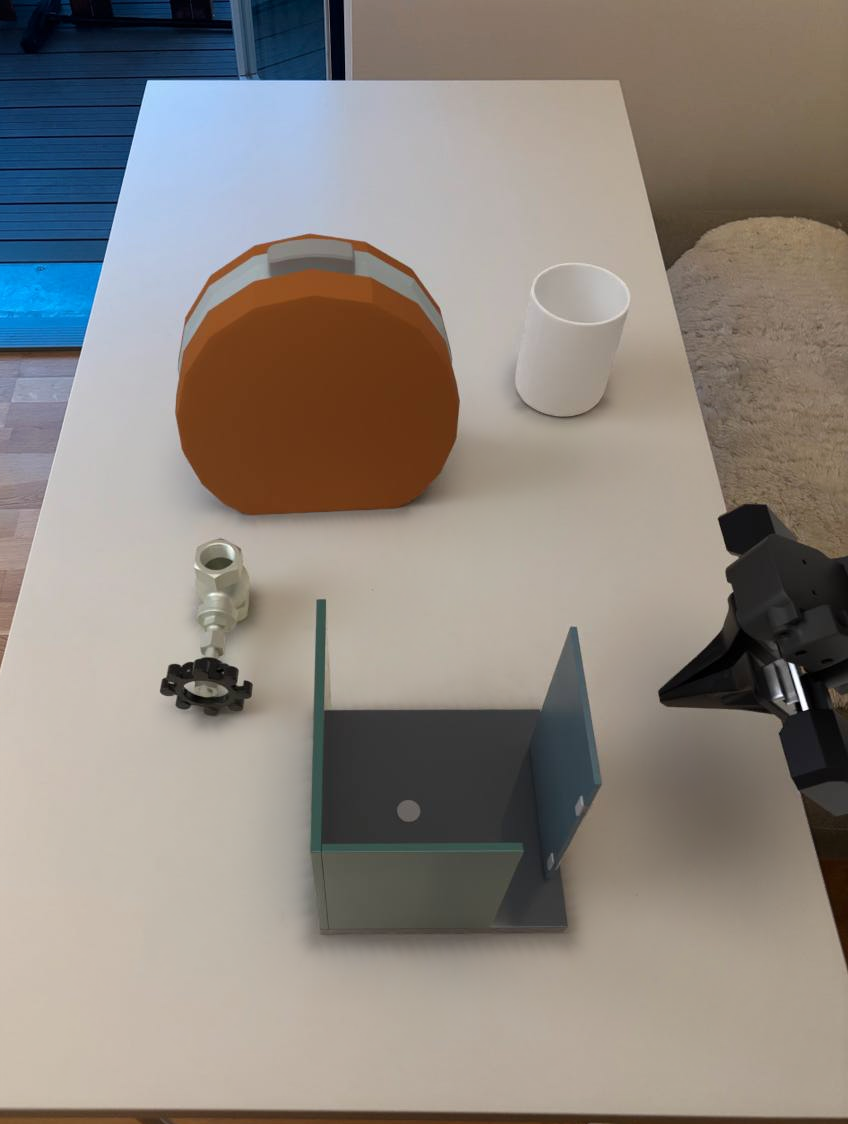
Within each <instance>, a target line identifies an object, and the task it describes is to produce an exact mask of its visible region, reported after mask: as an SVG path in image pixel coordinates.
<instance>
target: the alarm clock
mask: <svg viewBox="0 0 848 1124" xmlns="http://www.w3.org/2000/svg"><path fill="white" fill-rule="evenodd" d="M177 359H178V360H177V374H178V381H177V388H176V393H175V409H174V415H175V420H176V425H177V430H178V431H177V432H178V437H179V443H180V447H181V450H182V453H183V455H184V457H185V458H186V460H187V462H188V463H189V466H190V467H191V468H192V470H193V471H194V472H193V473H195V475H196V477H197V479H198V480H199V482H200V483H201V485H202V486H203V487H204V488H205V489H207V490H208V491H209V492H210V493H211V494H212V495H213V496H214V497H216V498H217V500H219V502H221V503H222V504H224V505H226V507H229V508H232V509H233V510H235V511H237V512H239V513H241V514H244V515H249V516H257V515H258V516H259V515H278V514H280V515H282V514H299V513H300V514H301V513H320V512H321V513H323V512H342V511H343V512H344V511H363V510H364V511H365V510H385V509H387V510H388V509H399V508H401V507H404V506H405V505H407V504H409V503H410V502H412V501H413V500H415V499H416V498H418V497H419V496H421V495H422V494H424V492H425V491H426V490H427V489H428V488H429V486H431V484H433V482H434V481H435V480H436V479H437V478H438V477H439V476H440V475H441V473H442V471H443V469H444V467H445V465H446V463H447V461H448V458H449V457H450V455H451V452H452V450H453V448H454V446H455V444H456V440H457V438H458V428H459V427H458V426H459V415H460V405H461V398H460V394H459V387H458V383H457V379H456V375H455V372H454V371H455V370H454V367H453V354H452V350H451V345H450V341H449V338H448V333H447V329H446V326H445V322H444V318H443V314H442V310H441V308H440V306H439V305H438V303H437V301H436V300H435V299H434V297H433V296H432V295H431V293H430V292H429V291H428V289H427V288H426V286H425V285H424V284H423V282H422V281H421V279H420V278H419V277H418V275H417V273H415V271H414V270H413V269H412V268H411V267H410V266H409V265H407V264H405V263H404V262H402V261H399V260H398V259H396V258H395V257H393V256H391V255H389V254H387V253H386V252H384V251H382V250H381V249H379V248H377V247H375V245H372V244H370V243H368V242H367V241H364V240H356V239H350V238H343V237H336V236H331V235H322V234H316V233H305V234H301V235H295V236H291V237H288V238H287V237H286V238H282V239H278V240H273V241H269V242H264V243H259V244H255V245H253V246H251V247H250V248H248V249H247V250H246V251H244V252H242V253H241V254H240V255H238V256H236V257H235V258H234V259H232V260H231V261H229V262H228V263H226V264H225V265H223V266H222V267H220V268H219V269H218V270H216V271H215V272H213V273H212V274H210V276H208V278H207V280H206V282H205V283H204V285H203V287H202V289H201V290H200V292H199V294H198V295H197V296H196V298H195V300H194V302H193V304H192V305H191V307H190V308H189V311H188V312H187V314H186V315H185V317H184V323H183V330H182V334H181V341H180V347H179V354H178V358H177Z"/></svg>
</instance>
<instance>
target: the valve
mask: <svg viewBox="0 0 848 1124" xmlns="http://www.w3.org/2000/svg"><path fill="white" fill-rule="evenodd" d="M243 557H244V556H243V551H242V548H240V547H239V546H238V545H237V544H234V543H233V542H231V541H229V540H227V539H224V538H221V537H219V538H216V539H213V540H209V541H207V542H205V543H202V544H200V545H198V546H197V547H196V551H195V555H194V563H193V570H194V574H195V579H194V580H195V581H194V585H195V590H196V594H197V596H198V598H199V600H201V602H202V603H201V604H199V605H200V606H199V607H198V612H197V618H196V622H197V624H198V625H199V626H200V627H201V628H203V630H204V631H205V632H202V635H201V640H200V645H199V648H200V653H201V655H203V657H201V658H196V659H194V661H187V662H185V663H183V664H179V663H170V664H168V666H167V670H166V676H165V677H163V678H162V679H161V680H160V682H161V683H160V687H159V694H161V695H162V696H164V697H174V696H176V699H175V707H176V708H177V709H179V710H181V711H182V710H183V711H187V710H189V709H190V708H191V707H192V706H195V707H201V708H203V709H202V712H203V714H204V715H206V716H209V717H211V716H212V717H215V716H217V715H219V710H220V708H223V707H226V708H227V709H228V710H229V711H231V712H234V713H235V712H236V713H239V712H242V711H243V710H244V708H245V707H244V705H245V700H249V699H251V698H252V696H253V688H254V684H253V682H252V681H249V680H243V683H242V685H238V680H239V675H240V670H239V668H238V667H237V666H233V665H229V664H228V663H225V662H222V661H221V660H220V659H219V658H220V657H223V656H225V651H226V646H227V638H226V634H228V632H231V631H233V630H235V628H236V627H237V623H239V622H241V621H243V620H245V619H246V618H248V613H249V607H250V594H249V593H250V589H251V578H250V575H249V572H248V570H247V569H246V566H245V565H244V558H243ZM193 682H194V686H193V687H194V692H195V693H193V692H191V691H190V690H188V689H187V688H186V687H185V685H187V684H189V683H193ZM220 686H221V687H222V688H224V689H226V690H227V693H226V694H223V695H220V696H217V695H219V688H220Z"/></svg>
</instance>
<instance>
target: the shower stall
mask: <svg viewBox="0 0 848 1124" xmlns="http://www.w3.org/2000/svg"><path fill="white" fill-rule="evenodd" d="M327 604H328V603H327V599H326V598H317V599H316V601H315V605H316V606H315V637H314V639H315V640H314V641H315V642H314V675H313V676H314V679H313V680H314V681H313V683H314V684H313V716H312V717H313V722H312V757H311V792H310V794H311V797H310V799H311V800H310V832H309V833H310V834H309V835H310V836H309V841H310V842H309V857H310V862H311V871H312V879H313V881H312V882H313V889H314V896H315V904H316V912H317V921H318V928H319V934H320V935H375V934H376V935H377V934H378V935H380V934H381V935H382V934H385V935H386V934H387V935H388V934H389V935H390V934H391V935H392V934H393V935H395V934H396V935H397V934H398V935H399V934H401V935H402V934H410V935H411V934H529V933H530V934H535V933H538V934H539V933H541V934H543V933H545V934H546V933H547V934H548V933H549V934H551V933H555V934H556V933H565V932H566V931H567V929H568V927H569V925H568V917H567V910H566V902H565V893H564V886H563V878H562V871H561V870H562V869H561V864H560V865H559V867H558V869H557V870H555V872H554V873H553V875H552V877H551V878H545V872H544V864H543V855H542V847H541V838H540V830H539V821H538V813H537V804H536V796H535V787H534V779H533V770H532V762H531V753H530V745H529V743H530V740H531V737H532V734H533V731H534V729H535V726H536V723H537V720H538V717H539V714H540V712H541V709H540V708H527V709H526V708H518V709H517V708H516V709H515V708H514V709H513V708H511V709H508V708H503V709H502V708H501V709H496V708H495V709H491V708H490V709H489V708H488V709H483V708H482V709H332V689H331V687H332V686H331V670H330V669H331V668H330V650H329V649H330V648H329V627H328V605H327Z"/></svg>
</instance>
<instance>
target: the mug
mask: <svg viewBox="0 0 848 1124" xmlns="http://www.w3.org/2000/svg"><path fill="white" fill-rule="evenodd" d="M631 296H632V295H631V292H630V289H629V287H628V285H627V284H626V282H625V281H624V280H623V279H622V278H621V277H619V276H618V275H617V274H615V273H614V272H612V271H610V270H608V269H607V268H604V267H602V266H598V265H594V264H590V263H584V262H564V263H559V264H555V265H551V266H549V267H546V268H545V269H544V270H542V271H541V272H539V273H538V274H537V275H536V277H535V278H534V279H533V281H532V283H531V287H530V293H529V298H528V303H527V307H526V308H527V309H526V315H525V319H524V323H523V324H524V326H523V331H522V336H521V341H520V346H519V352H518V357H517V362H516V368H515V374H514V377H515V378H514V383H515V388H516V391H517V393H518V395H519V397H520V399H522V401H523V402H524V403H526V405H528V407H530V408H532V409H534V410H535V411H538V412H539V413H542V414H545V415H549V416H553V417H562V418H563V417H575V416H579V415H581V414H584V413H587V412H588V411H590V410H592V409H593V408H594V407H595V406H596V405H597V404H598V403H599V402H600V401H601V399H602V397H603V396H604V394H605V391H606V388H607V384H608V382H609V378H610V376H611V375H610V374H611V371H612V368H613V364H614V360H615V358H616V353H617V350H618V347H619V344H620V340H621V337H622V333H623V330H624V326H625V324H626V320H627V316H628V313H629V309H630V306H631V301H632V297H631Z"/></svg>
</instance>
